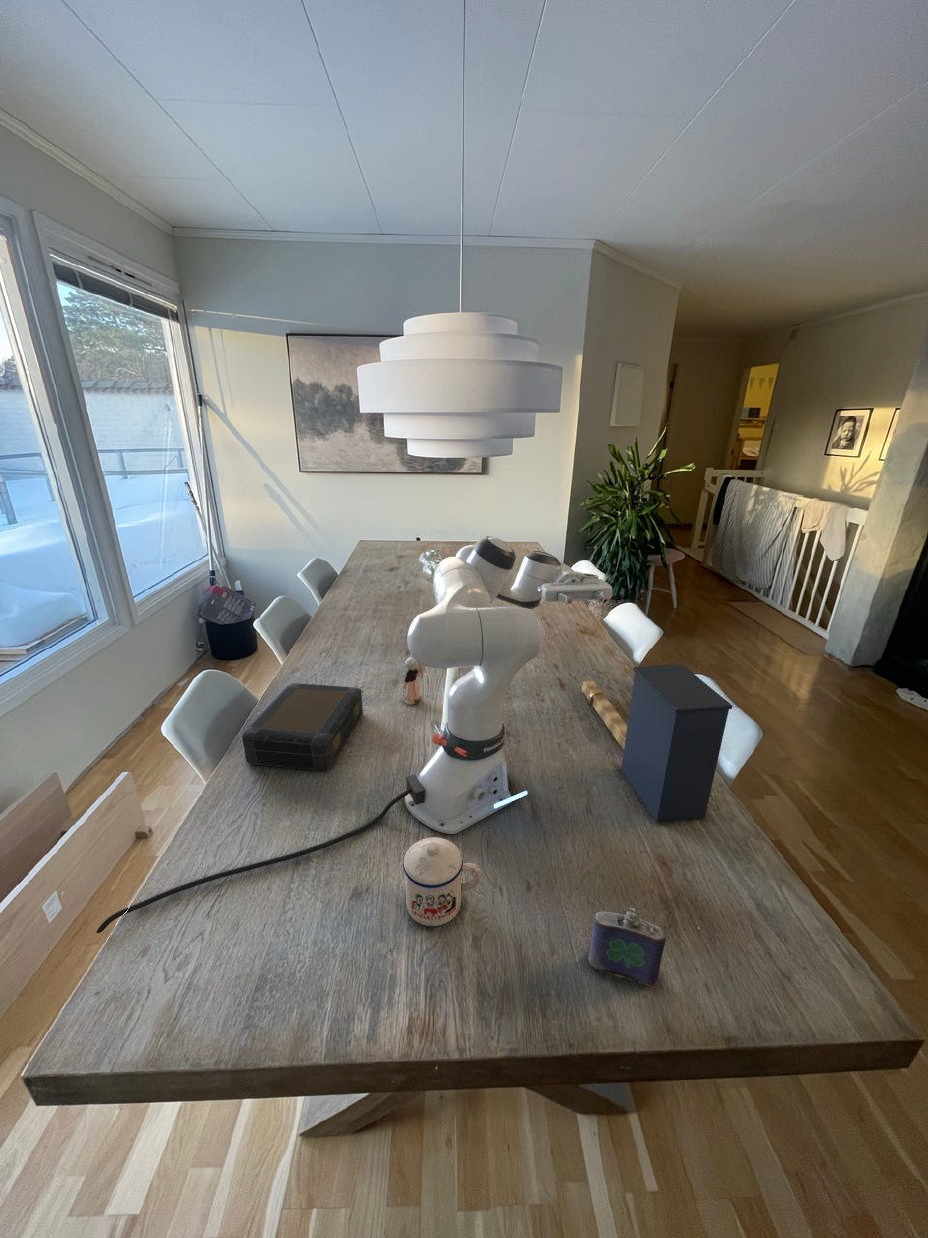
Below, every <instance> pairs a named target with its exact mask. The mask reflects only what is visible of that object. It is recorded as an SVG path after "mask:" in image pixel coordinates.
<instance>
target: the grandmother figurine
mask: <svg viewBox="0 0 928 1238" xmlns="http://www.w3.org/2000/svg"><path fill="white" fill-rule="evenodd" d="M417 664H418V663H417V662H416V661H415V660H414V658H413V657H412V656H411V657H408V658H407V659H406V660H405V661H404V665H405V667H406V668H407V671H406V673H405V678H404V680H403V685H402V688H403V689H404V690H406V691H405V695H406V696H405V704H407V705H409V706H413V705H414V704H415V703H416V701H419V699H420V698H421V696H420V689H419V684H418V679H417V678H419V676H420V674H419V670H418V669H417Z"/></svg>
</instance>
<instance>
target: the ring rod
mask: <svg viewBox="0 0 928 1238" xmlns="http://www.w3.org/2000/svg"><path fill="white" fill-rule="evenodd" d="M581 691H582V692H583V694H584V695H585V697H586V699H587V700H588V703H590V705H591V706H592V707H593V708H594V710H595V712H597V714H598V715H599V717H600V718H601V720H602V721H603V723H604V724H605V726H606V727H607V729H608V730H609V731H610V733H611V734H612V736H613V737H614V738H615V740H616V741H617V743H618V744H619V746H620V748H622V750H623V751H624V746H625V739H626V732H627V725H628V723H626V721H625V720H624V719H623V718H622V716H621V715H620V713H619V712H618V711H617V710H616V708H615V707H614V705H613V704H612V703H611V702H610V700H609V699H608V698H607V696H606V695H605V693H604V692H603V691H602V690H601V689H600V687H599V685H597V683H596V682H595V681H594V680H592V679H591V680H583V681H582V687H581Z"/></svg>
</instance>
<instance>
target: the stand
mask: <svg viewBox="0 0 928 1238" xmlns="http://www.w3.org/2000/svg"><path fill="white" fill-rule="evenodd" d="M632 671H633V672H634V675H633V684H632V690H631V697H630V704H629V712H628V718H627V732H626V739H625V746H624V750H623V754H622V761H621V767H620V770H621V772H622V774H623V775H624V777H625V778H626V779H627V781H628V783H629V784H630V786H631V787H632V788H633V790H634V791H635V793H636V795H637V796H638V797H639V799H640V801H641V802H642V803H643V805H644V806H645V807H646V809H647V811H648V812H649V814H650V815H651V817H652V818H653V820H654V821H655V822H656V823H665V822H666V823H667V822H675V821H676V822H677V821H686V820H695V819H704V818H706V815H707V809H708V806H709V801H710V797H711V792H712V788H713V783H714V778H715V775H716V771H717V765H718V761H719V757H720V752H721V748H722V743H723V738H724V733H725V729H726V725H727V720H728V716H729V711H730V710H732V709H733V704H731V703H730V701H728V700H727V699H726V698H724V697H723V696H722V695H721V694H720V693H718V692H717V691H715V690H714V689H713V688H712V687H711V686H710V685H708V684H707V683H706V682H705V681H704V680H702V679H701V678H699V677H698V676H697V675H696V674H695V673H694V672H693V671H691V670H690V669H689V668H688V667H686V666H685V665H684V664H683V663H679V664H678V663H677V664H665V665H663V664H662V665H647V666H633V668H632Z"/></svg>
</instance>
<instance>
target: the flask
mask: <svg viewBox="0 0 928 1238" xmlns="http://www.w3.org/2000/svg"><path fill="white" fill-rule="evenodd" d="M625 910H627V911H626V913H625V914H624V913H619V912H612V911H597V912H596V913H595V914H594V917H593V924H592V934H591V940H590V943H589V944H590V946H589V952H588V958H587V959H588V964H589V967H591V968H592V969H593V970H596V971H597V972H599V973H602V974H604V973H607V974H610V975H612V976H613V977H616V978H619V979H624V978H627V979H628V980H629V981H631V982H632V981H636V982H637V983H638V984H642V985H644V986H647V987H652V986H654V985H657V980H658V977H659V973H660V967H661V964H662V959H663V953H664V950H665V944H666V941H667V938H666V935H665V932H664V930H663V928H661V927H660V926H659V925H657V924H654V923H651V922H649V921H647V920H644V919H641V918H640V917H639V916H637V914H636V912H637V910H636V909H635V908H634V907H632V906H631V907H625Z"/></svg>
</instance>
